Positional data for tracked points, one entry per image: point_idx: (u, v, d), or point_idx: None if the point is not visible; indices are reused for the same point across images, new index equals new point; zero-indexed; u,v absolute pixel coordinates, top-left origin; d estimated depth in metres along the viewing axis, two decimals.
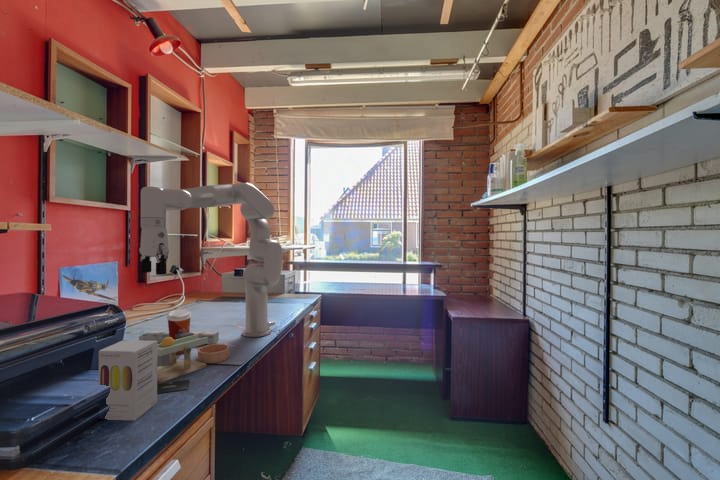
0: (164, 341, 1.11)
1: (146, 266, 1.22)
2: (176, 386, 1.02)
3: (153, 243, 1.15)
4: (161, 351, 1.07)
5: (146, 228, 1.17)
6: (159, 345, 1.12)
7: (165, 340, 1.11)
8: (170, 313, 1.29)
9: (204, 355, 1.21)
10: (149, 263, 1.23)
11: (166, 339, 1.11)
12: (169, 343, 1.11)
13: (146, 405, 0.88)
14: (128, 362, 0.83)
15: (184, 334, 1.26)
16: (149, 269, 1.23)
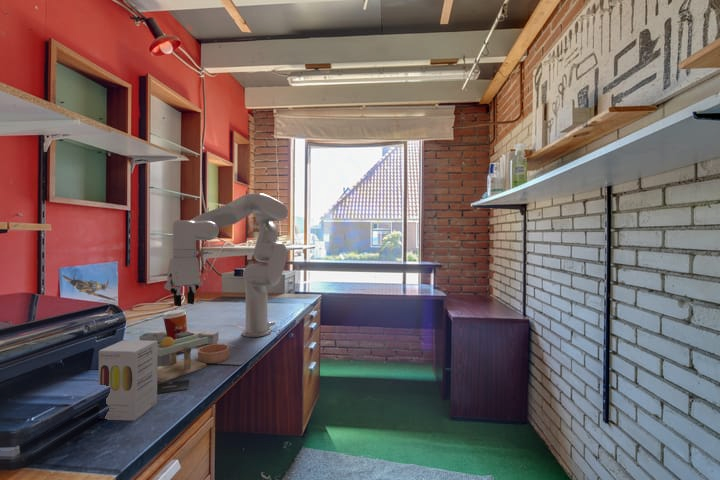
0: (164, 341, 1.11)
1: None
2: (176, 386, 1.02)
3: (198, 272, 1.29)
4: (161, 351, 1.07)
5: (189, 259, 1.25)
6: (159, 345, 1.12)
7: (165, 340, 1.11)
8: (165, 313, 1.31)
9: (204, 355, 1.21)
10: None
11: (166, 339, 1.11)
12: (169, 343, 1.11)
13: (146, 405, 0.88)
14: (128, 362, 0.83)
15: (184, 334, 1.26)
16: None
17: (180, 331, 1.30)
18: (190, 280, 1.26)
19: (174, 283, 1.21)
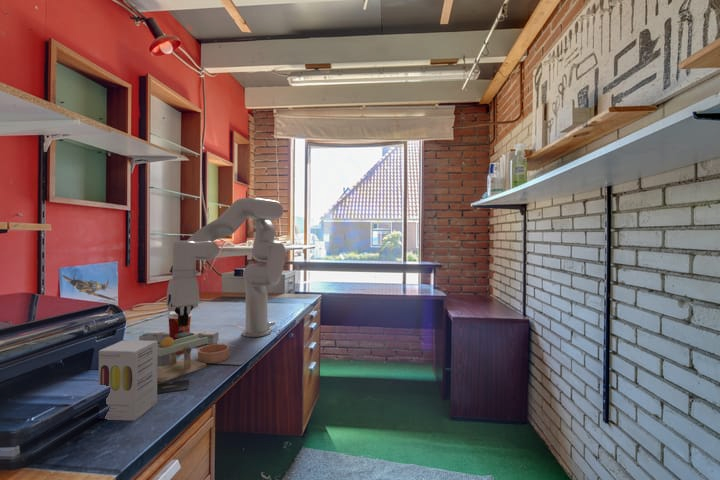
0: (163, 342, 1.10)
1: None
2: (176, 386, 1.02)
3: (197, 292, 1.28)
4: (161, 351, 1.07)
5: (189, 280, 1.25)
6: (159, 345, 1.12)
7: (164, 340, 1.11)
8: (171, 312, 1.32)
9: (204, 355, 1.21)
10: None
11: (165, 339, 1.11)
12: (169, 343, 1.11)
13: (146, 405, 0.88)
14: (128, 362, 0.83)
15: (184, 334, 1.26)
16: None
17: None
18: (189, 300, 1.26)
19: (173, 304, 1.21)
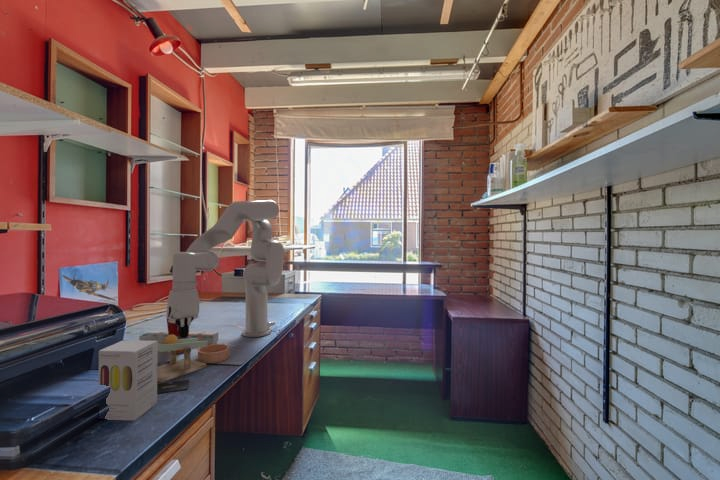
0: (169, 336, 1.12)
1: None
2: (176, 386, 1.02)
3: (198, 303, 1.29)
4: (162, 347, 1.07)
5: (189, 291, 1.25)
6: (160, 342, 1.12)
7: (171, 336, 1.12)
8: None
9: (204, 355, 1.21)
10: None
11: (172, 335, 1.13)
12: (173, 340, 1.12)
13: (146, 405, 0.88)
14: (128, 362, 0.83)
15: None
16: None
17: None
18: (189, 312, 1.26)
19: (173, 316, 1.21)
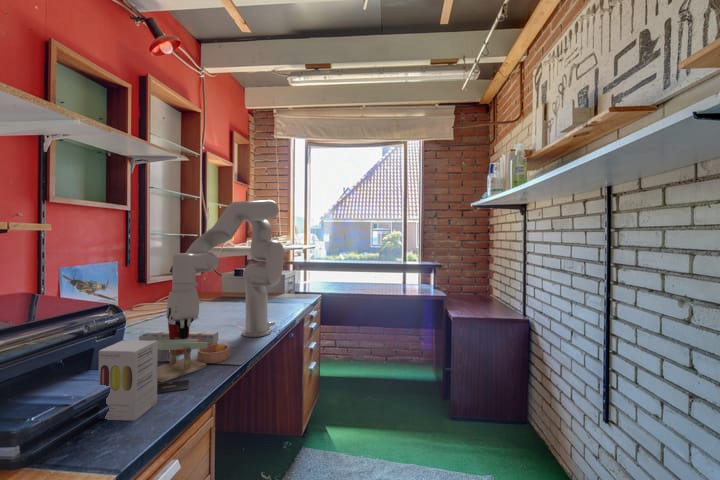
0: None
1: None
2: (176, 386, 1.02)
3: (198, 304, 1.29)
4: (162, 345, 1.08)
5: (189, 292, 1.25)
6: (160, 341, 1.13)
7: None
8: None
9: (204, 355, 1.21)
10: None
11: None
12: None
13: (146, 405, 0.88)
14: (128, 362, 0.83)
15: None
16: None
17: None
18: (189, 313, 1.26)
19: (173, 317, 1.21)
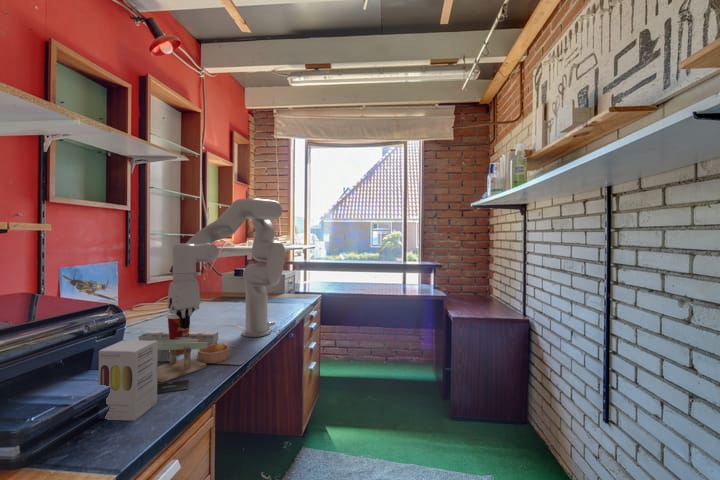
0: None
1: None
2: (176, 386, 1.02)
3: (198, 294, 1.29)
4: (162, 345, 1.08)
5: (189, 282, 1.25)
6: (160, 341, 1.13)
7: None
8: None
9: (204, 355, 1.21)
10: None
11: None
12: None
13: (146, 405, 0.88)
14: (128, 362, 0.83)
15: (184, 338, 1.26)
16: None
17: (182, 332, 1.30)
18: (190, 303, 1.26)
19: (174, 307, 1.22)
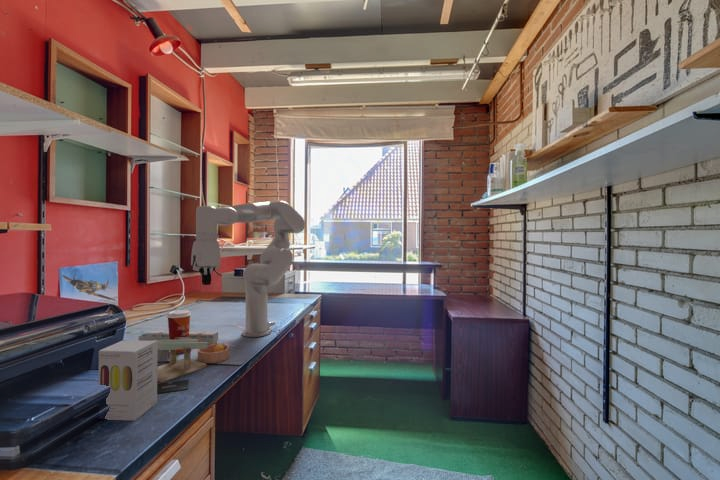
0: None
1: None
2: (176, 386, 1.02)
3: (219, 254, 1.39)
4: (162, 345, 1.08)
5: (211, 242, 1.35)
6: (160, 341, 1.13)
7: None
8: (170, 312, 1.32)
9: (204, 355, 1.21)
10: None
11: None
12: None
13: (146, 405, 0.88)
14: (128, 362, 0.83)
15: (184, 338, 1.26)
16: None
17: (182, 332, 1.31)
18: (212, 261, 1.36)
19: (198, 263, 1.31)
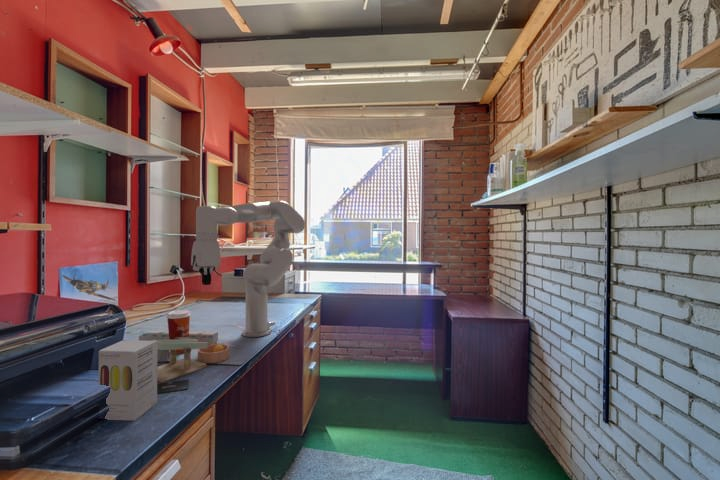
0: None
1: None
2: (176, 386, 1.02)
3: (219, 254, 1.39)
4: (162, 345, 1.08)
5: (211, 242, 1.35)
6: (160, 341, 1.13)
7: None
8: (170, 312, 1.32)
9: (204, 355, 1.21)
10: None
11: None
12: None
13: (146, 405, 0.88)
14: (128, 362, 0.83)
15: (184, 338, 1.26)
16: None
17: (182, 332, 1.30)
18: (212, 261, 1.36)
19: (198, 263, 1.31)
